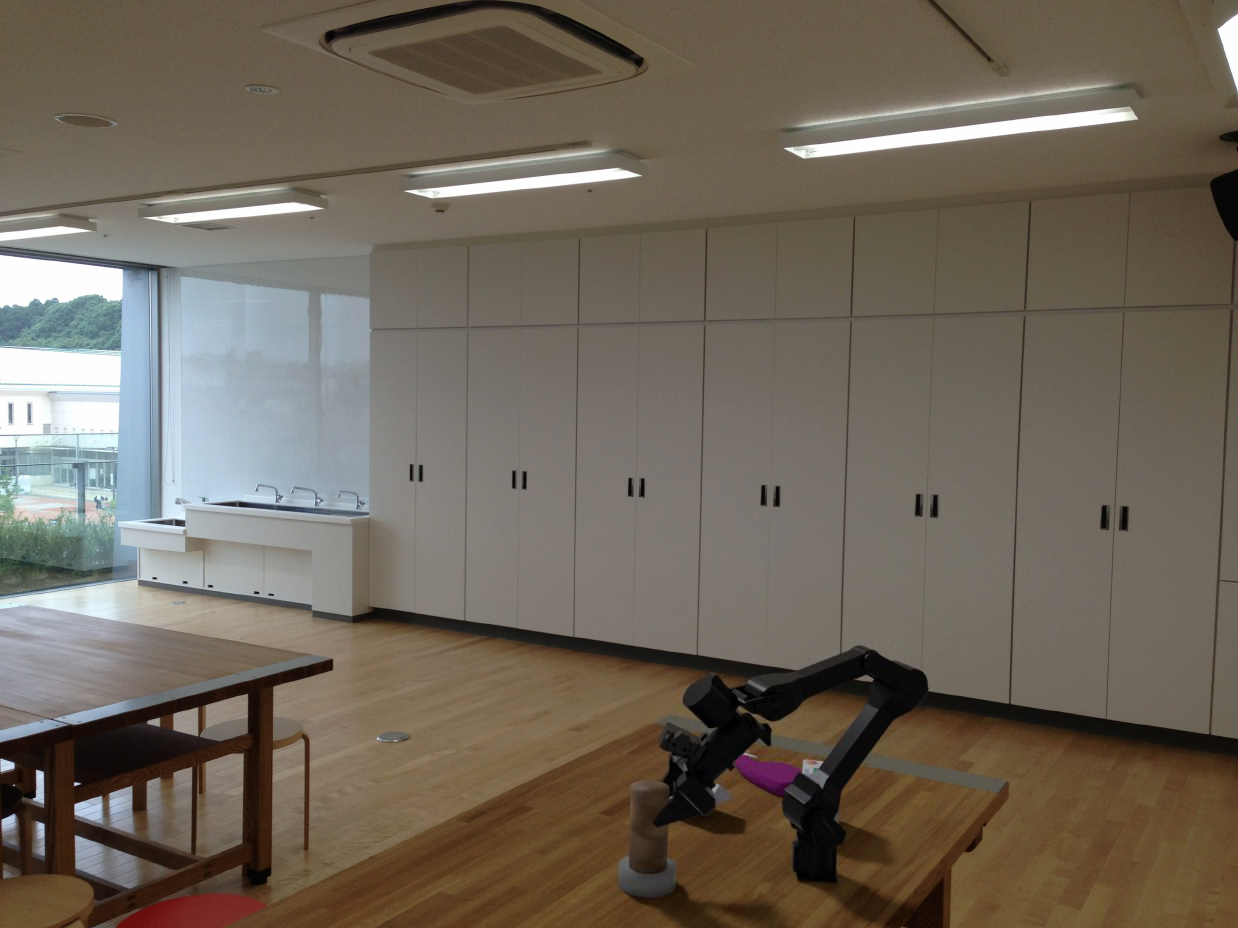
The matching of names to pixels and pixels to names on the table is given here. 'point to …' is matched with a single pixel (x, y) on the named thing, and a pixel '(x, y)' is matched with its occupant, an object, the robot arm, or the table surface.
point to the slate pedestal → (646, 880)
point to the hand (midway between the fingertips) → (653, 812)
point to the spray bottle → (767, 773)
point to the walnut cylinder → (648, 827)
